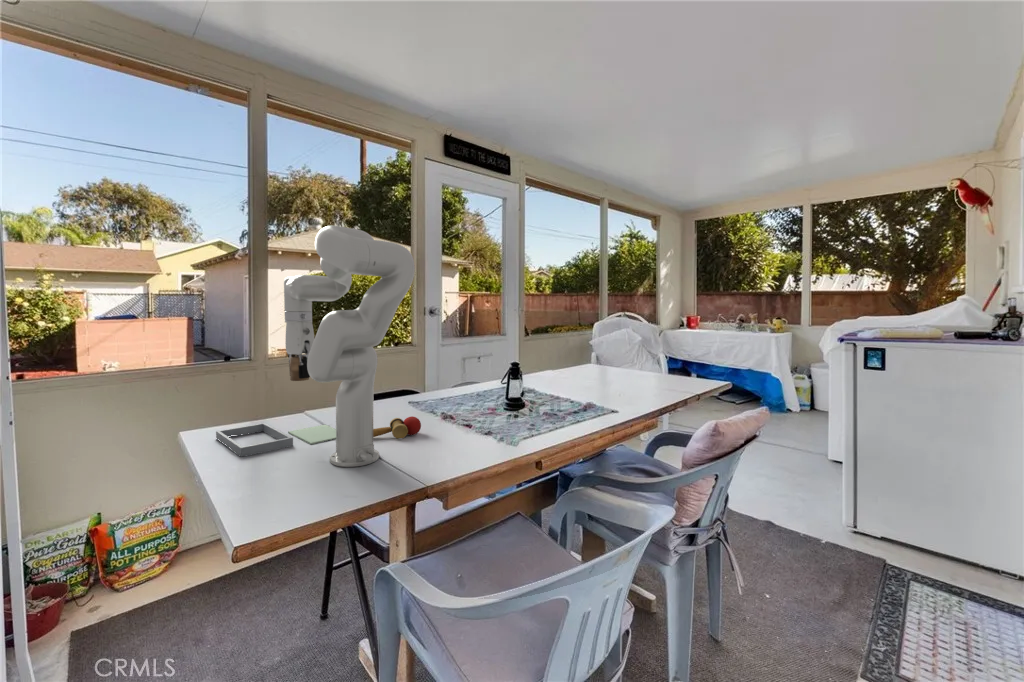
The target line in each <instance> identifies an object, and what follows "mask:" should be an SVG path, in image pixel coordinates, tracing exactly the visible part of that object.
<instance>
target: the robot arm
mask: <svg viewBox="0 0 1024 682" xmlns="http://www.w3.org/2000/svg"><path fill="white" fill-rule="evenodd" d="M314 240H315V241H314V247H315V252H316V253H317V256H318V257H320V261H319V262H320V263H319V265H320V268H321V271H322V272H323V273H324V275H314V274H312V275H311V274H297V275H295V276H287V277H285V278H284V280H283V299H284V301H283V302H284V305H283V306H284V323H286V325H285V352H286V354H287V357H288V363H289V366H288V367H290V357H293V356H299V362H300V365H298V366H299V378H300V379H302V378H309V379H310V378H311V379H312V380H314V381H315V382H318V383H331V382H333V383H334V382H340V381H341V383H340V384H339V386H338V389H337V391H336V395H335V429H336V439H335V452H333V453H332V454H330V456H329V462H330V463H331V464H332V465H334V466H337V467H342V468H355V467H361V466H362V467H363V466H367V465H370V464H373V463H374V462H376V461H378V460H379V458H380V451H378V450H377V449H375V444H374V437H373V429H374V396H375V395H374V389H375V388H374V387H375V379H376V373H377V367H378V353H377V351H376V350H375V348H374V347H376V346H378V345H379V344H381V343H382V341H383V339H384V338H385V336H386V333H387V332H388V330H389V328H390V325H391V323H392V322H393V319H394V317H395V316H396V315H395V314H396V312H397V310H398V308H399V306H400V304H401V303H402V301H403V299H405V296H406V295H407V293H408V292H409V290H410V288H411V286H412V284H413V281H414V277H415V271H416V270H415V261H414V257H413V255H412V253H411V251H410V250H409V249H408V248H406V247H405V246H403V245H401V244H399V243H395V242H392V241H391V242H390V241H387V240H386V241H385V240H377V239H374V238H373V237H372V235H371V234H369V233H368V232H366V231H364V230H361V229H357V228H351V227H345V226H340V225H331V224H330V225H327V226H324V227H322V228H321V229H320V230H319V231H318V232H317V234H316V236H315V239H314ZM352 275H357V276H358V275H359V276H373V277H380V279H379V280H378V281H376V282H375V283H373V284H372V285H371V286H370V287H369V288H368V289H367V290H366V292H365V293H364V294H363V296H362V298H361V302H360V303H359V306H358V307H356V308H355V309H346V310H345V309H339V310H333V311H330V312H329V313H327V314H326V315H325V316H324V317H323V318H322V320H321V321H320V324H319V326H318V328H317V332H316V334H315V333H314V325H313V302H335V301H337V300H339V299H341V298H342V297H343V296H344V295H346V294H348V292H349V290H350V289H351V285H352V281H353V278H352V277H353V276H352ZM302 357H304V359H303V358H302Z"/></svg>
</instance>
